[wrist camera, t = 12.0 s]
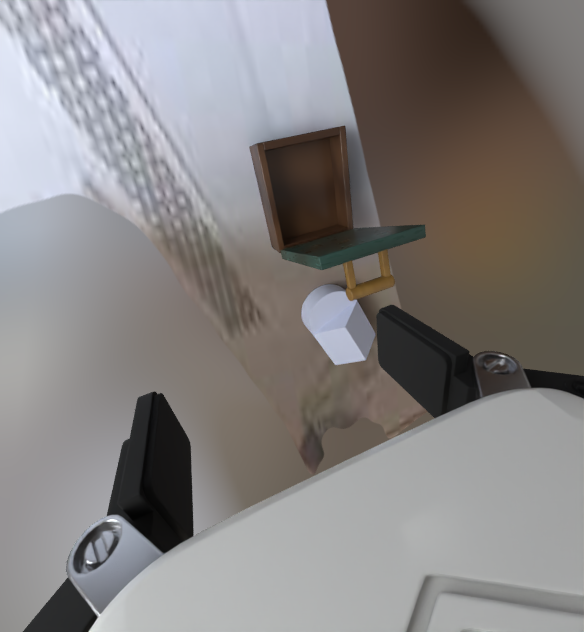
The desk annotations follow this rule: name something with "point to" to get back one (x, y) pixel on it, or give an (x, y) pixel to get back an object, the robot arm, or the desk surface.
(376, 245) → the panel with handle
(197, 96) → the desk surface
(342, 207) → the drawer box
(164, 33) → the desk surface
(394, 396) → the desk surface
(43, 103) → the desk surface
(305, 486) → the robot arm
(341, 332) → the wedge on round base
